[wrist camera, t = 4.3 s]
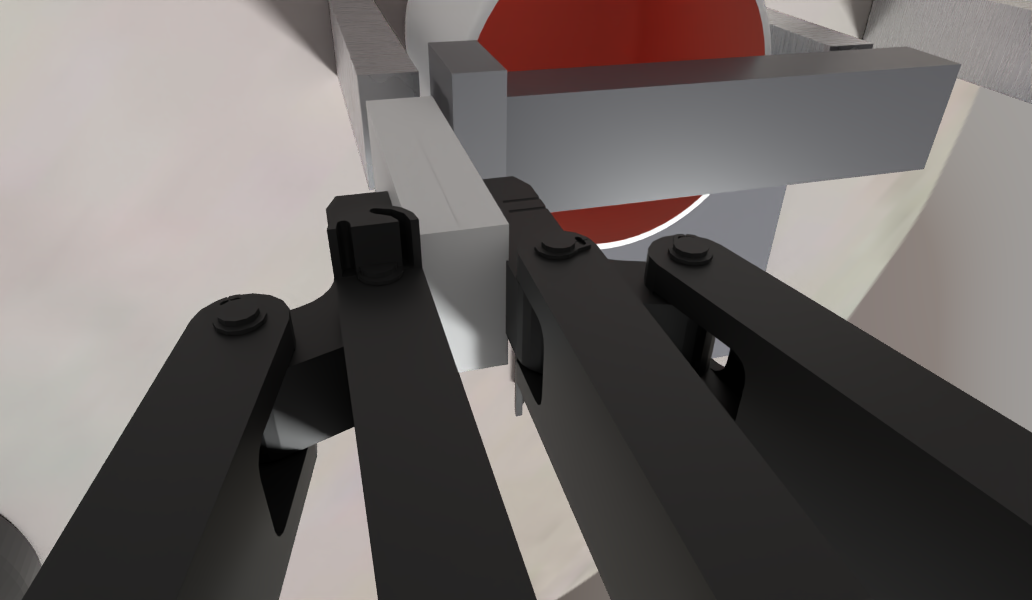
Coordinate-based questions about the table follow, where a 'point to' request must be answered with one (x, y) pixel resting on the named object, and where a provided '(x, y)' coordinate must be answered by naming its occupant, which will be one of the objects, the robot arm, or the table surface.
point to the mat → (723, 229)
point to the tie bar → (691, 121)
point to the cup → (594, 62)
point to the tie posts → (892, 23)
